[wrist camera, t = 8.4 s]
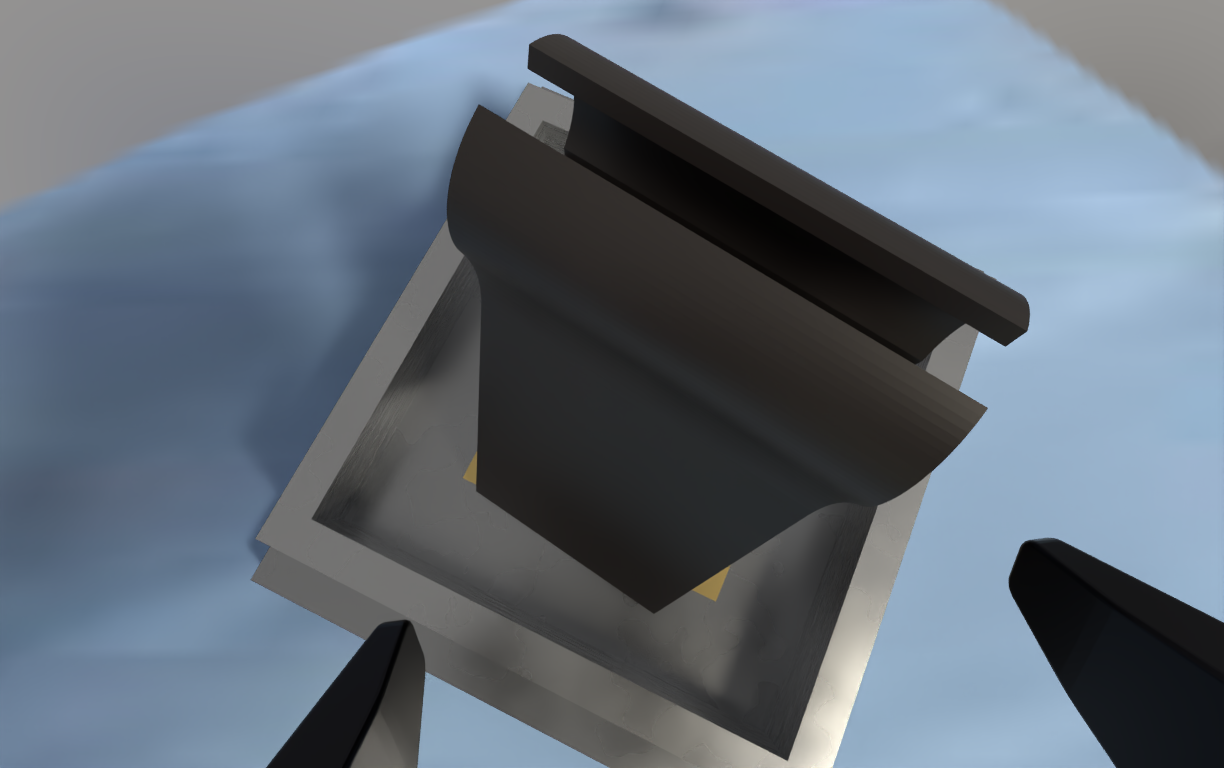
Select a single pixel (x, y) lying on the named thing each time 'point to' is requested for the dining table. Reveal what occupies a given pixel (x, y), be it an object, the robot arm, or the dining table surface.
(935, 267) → the phone stand
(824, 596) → the square tray
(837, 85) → the dining table surface
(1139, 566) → the dining table surface
